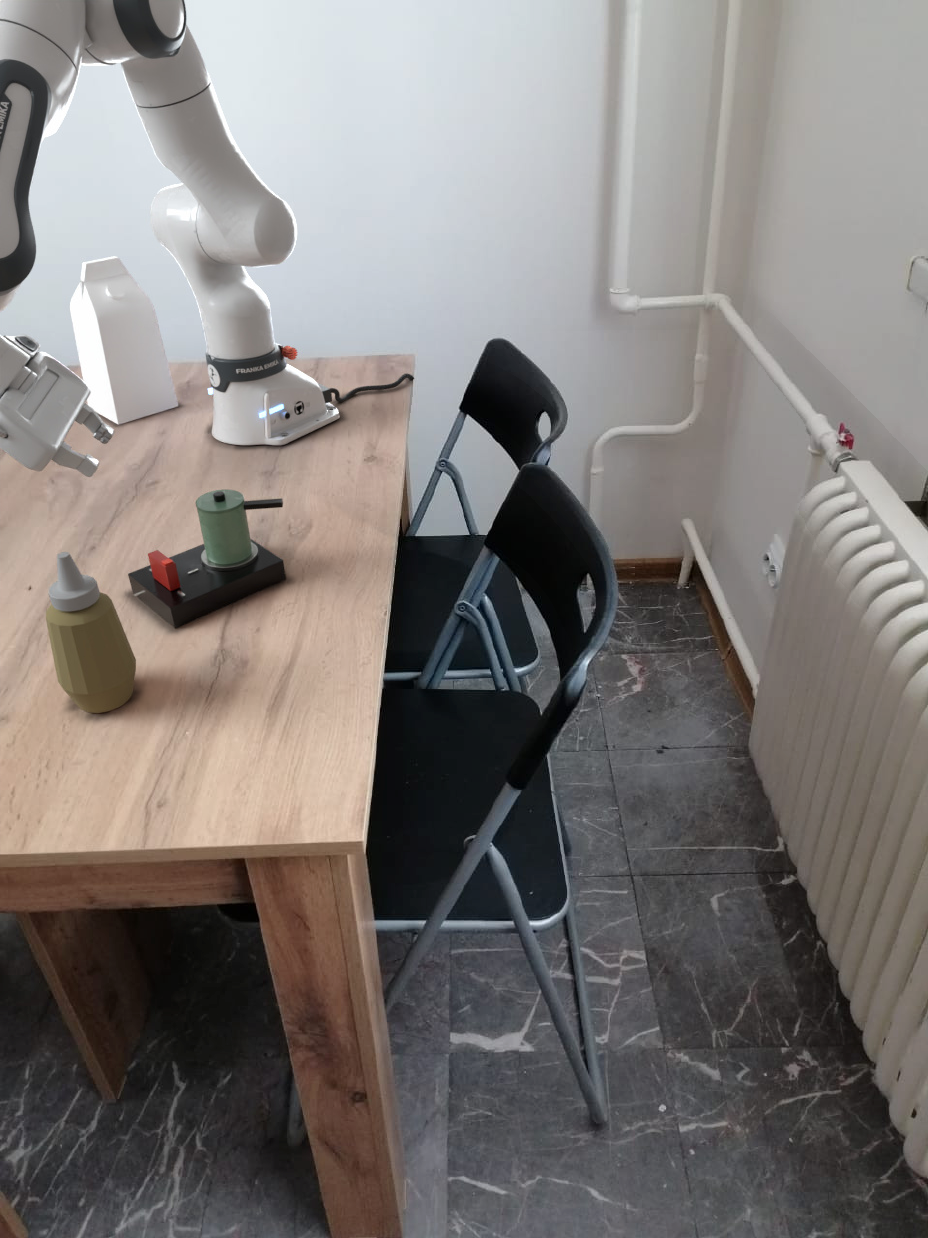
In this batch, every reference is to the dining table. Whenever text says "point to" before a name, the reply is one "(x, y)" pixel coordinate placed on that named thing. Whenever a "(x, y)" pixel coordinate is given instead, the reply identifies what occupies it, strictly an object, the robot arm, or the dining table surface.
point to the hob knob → (164, 570)
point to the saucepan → (228, 524)
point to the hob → (204, 585)
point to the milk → (119, 344)
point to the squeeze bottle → (88, 641)
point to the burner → (230, 566)
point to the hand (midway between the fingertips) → (103, 453)
